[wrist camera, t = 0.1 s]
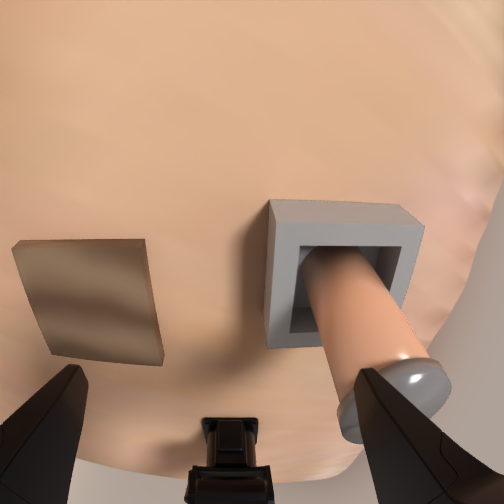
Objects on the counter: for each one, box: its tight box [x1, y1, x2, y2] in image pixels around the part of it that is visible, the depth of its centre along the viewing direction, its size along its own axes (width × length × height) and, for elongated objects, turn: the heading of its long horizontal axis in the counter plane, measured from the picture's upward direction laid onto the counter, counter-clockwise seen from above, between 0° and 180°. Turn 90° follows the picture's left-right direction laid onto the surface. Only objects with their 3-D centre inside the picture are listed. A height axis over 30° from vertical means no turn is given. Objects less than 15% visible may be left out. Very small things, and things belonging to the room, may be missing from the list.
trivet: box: [11, 239, 165, 366], centre depth 25 cm, size 12×12×2 cm
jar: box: [301, 246, 452, 444], centre depth 18 cm, size 6×6×13 cm
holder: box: [263, 199, 425, 349], centre depth 23 cm, size 10×10×4 cm
